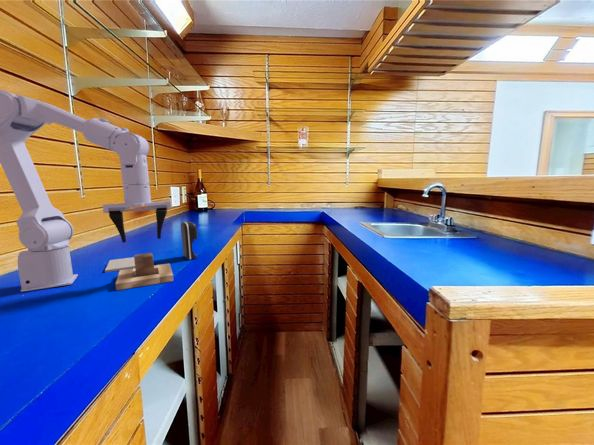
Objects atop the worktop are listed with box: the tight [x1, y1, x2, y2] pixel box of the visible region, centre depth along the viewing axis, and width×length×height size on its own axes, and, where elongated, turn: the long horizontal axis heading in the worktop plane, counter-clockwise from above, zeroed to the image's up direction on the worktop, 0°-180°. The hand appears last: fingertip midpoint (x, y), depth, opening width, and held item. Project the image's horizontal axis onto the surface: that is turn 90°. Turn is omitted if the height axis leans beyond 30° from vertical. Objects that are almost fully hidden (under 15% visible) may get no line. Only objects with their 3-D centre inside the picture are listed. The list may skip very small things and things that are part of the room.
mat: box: [104, 256, 154, 273], centre depth 89 cm, size 12×12×1 cm
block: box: [133, 252, 155, 277], centre depth 74 cm, size 4×4×6 cm
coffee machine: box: [180, 221, 199, 260], centre depth 94 cm, size 7×4×11 cm, turn 32°
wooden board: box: [115, 263, 174, 291], centre depth 75 cm, size 12×12×2 cm
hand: (142, 239), depth 73 cm, fingers open, 7 cm apart
